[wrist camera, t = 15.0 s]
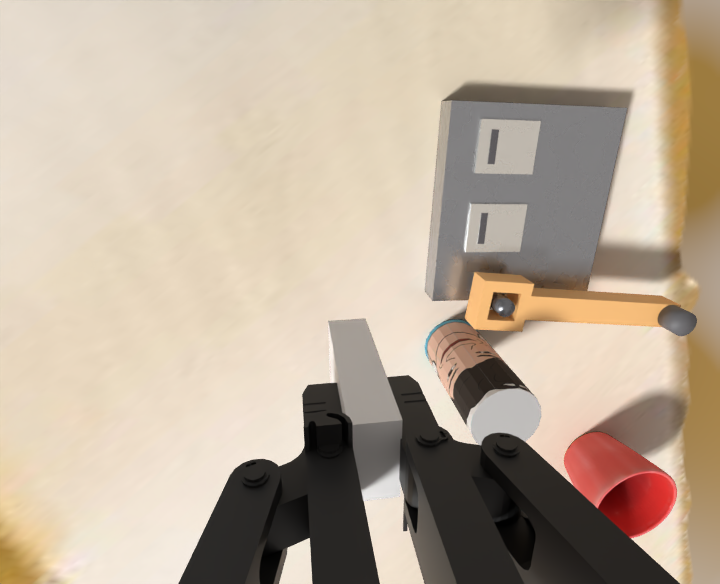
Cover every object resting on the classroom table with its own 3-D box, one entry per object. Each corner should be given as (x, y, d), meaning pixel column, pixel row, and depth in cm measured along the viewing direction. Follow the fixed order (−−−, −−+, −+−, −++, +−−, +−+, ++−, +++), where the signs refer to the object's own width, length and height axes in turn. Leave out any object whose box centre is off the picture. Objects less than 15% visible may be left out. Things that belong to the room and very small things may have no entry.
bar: (464, 318, 50) (483, 339, 45) (474, 271, 48) (494, 288, 43) (652, 327, 54) (686, 347, 49) (667, 285, 52) (705, 301, 47)
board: (441, 101, 46) (471, 98, 39) (607, 108, 49) (665, 107, 41) (424, 291, 53) (447, 319, 46) (570, 288, 56) (614, 314, 48)
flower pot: (544, 441, 64) (587, 494, 55) (618, 410, 64) (673, 458, 55) (559, 494, 68) (601, 552, 59) (629, 465, 68) (682, 519, 59)
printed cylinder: (480, 316, 55) (545, 384, 41) (477, 366, 58) (537, 446, 44) (425, 322, 54) (472, 393, 41) (424, 372, 57) (468, 455, 43)
